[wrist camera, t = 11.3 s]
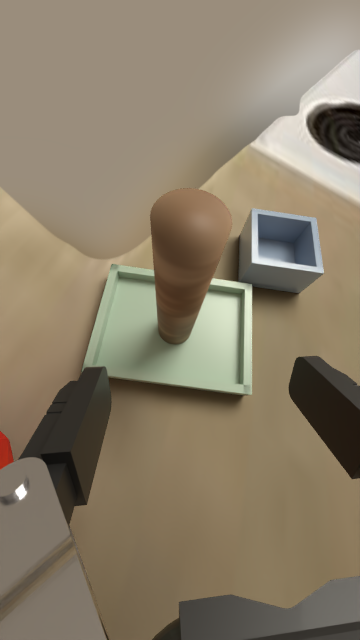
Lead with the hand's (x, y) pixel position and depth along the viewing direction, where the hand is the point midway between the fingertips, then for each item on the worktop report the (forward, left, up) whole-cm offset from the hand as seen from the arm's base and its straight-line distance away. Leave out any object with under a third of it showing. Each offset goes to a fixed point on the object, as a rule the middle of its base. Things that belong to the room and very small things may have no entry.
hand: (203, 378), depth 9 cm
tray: (-1, +7, -14) cm, 15 cm away
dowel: (-1, +6, -13) cm, 14 cm away
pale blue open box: (+10, +18, -14) cm, 24 cm away
